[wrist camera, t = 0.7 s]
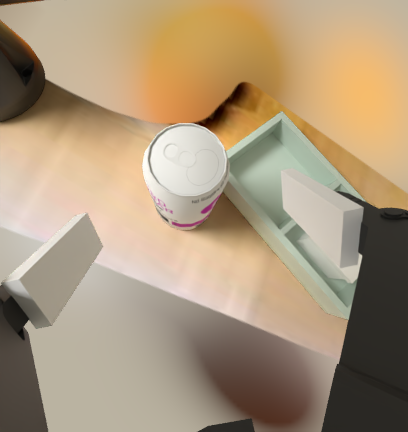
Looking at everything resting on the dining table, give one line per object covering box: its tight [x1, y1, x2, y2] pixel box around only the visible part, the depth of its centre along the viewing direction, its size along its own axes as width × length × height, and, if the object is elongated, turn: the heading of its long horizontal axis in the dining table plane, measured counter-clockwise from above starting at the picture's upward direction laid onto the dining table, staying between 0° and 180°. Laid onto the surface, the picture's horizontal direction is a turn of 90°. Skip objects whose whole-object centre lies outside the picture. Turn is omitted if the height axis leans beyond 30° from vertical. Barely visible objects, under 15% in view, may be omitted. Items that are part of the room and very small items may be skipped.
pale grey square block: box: [296, 232, 362, 283], centre depth 32 cm, size 8×8×5 cm
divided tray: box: [223, 111, 366, 320], centre depth 34 cm, size 27×14×4 cm, turn 40°
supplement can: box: [142, 123, 230, 230], centre depth 27 cm, size 8×8×15 cm
